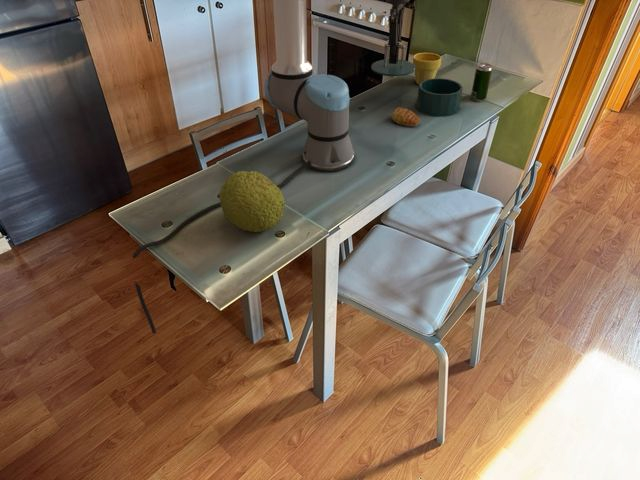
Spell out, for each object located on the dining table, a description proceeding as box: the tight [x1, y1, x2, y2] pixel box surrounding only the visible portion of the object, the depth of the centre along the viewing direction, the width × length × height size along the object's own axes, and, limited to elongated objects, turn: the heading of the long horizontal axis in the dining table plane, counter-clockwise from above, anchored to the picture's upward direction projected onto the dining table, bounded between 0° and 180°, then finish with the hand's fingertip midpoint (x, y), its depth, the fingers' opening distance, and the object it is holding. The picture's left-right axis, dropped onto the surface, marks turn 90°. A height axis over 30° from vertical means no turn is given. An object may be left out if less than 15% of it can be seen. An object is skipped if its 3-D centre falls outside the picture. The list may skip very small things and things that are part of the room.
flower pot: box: [412, 52, 442, 86], centre depth 179 cm, size 10×10×10 cm
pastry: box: [391, 107, 421, 127], centre depth 155 cm, size 9×7×4 cm
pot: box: [416, 77, 464, 117], centre depth 162 cm, size 14×14×8 cm
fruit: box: [219, 170, 286, 233], centre depth 112 cm, size 16×14×15 cm
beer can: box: [470, 62, 493, 103], centre depth 165 cm, size 5×5×12 cm
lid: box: [370, 43, 415, 77], centre depth 164 cm, size 15×15×9 cm
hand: (393, 62), depth 165 cm, fingers closed on lid
